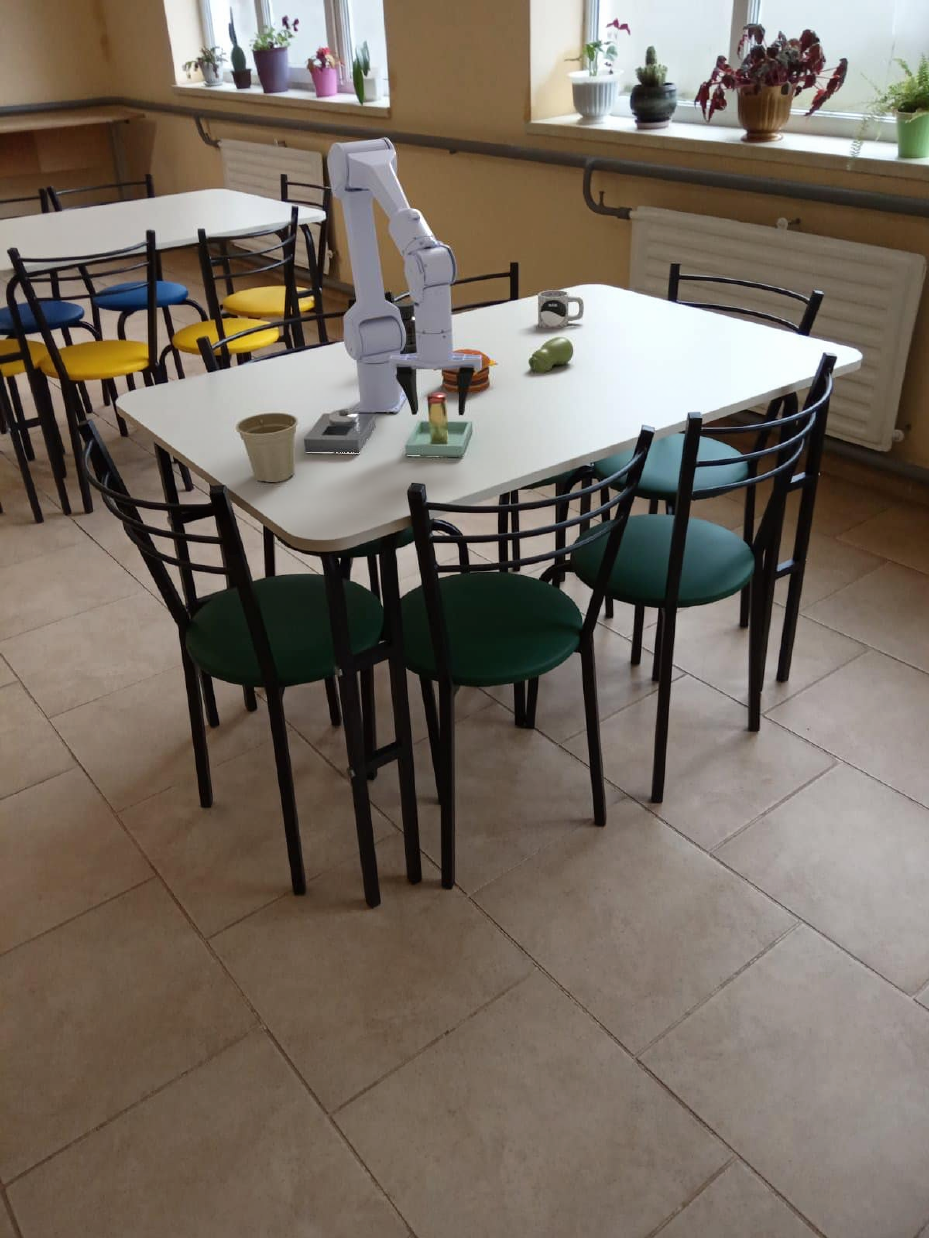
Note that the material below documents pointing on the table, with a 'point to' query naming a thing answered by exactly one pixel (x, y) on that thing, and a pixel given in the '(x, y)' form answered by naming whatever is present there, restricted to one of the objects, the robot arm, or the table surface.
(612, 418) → the table surface
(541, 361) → the pear
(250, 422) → the flower pot
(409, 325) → the supplement bottle
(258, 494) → the table surface
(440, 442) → the yellow jar
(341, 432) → the block
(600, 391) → the table surface
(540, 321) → the mug
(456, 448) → the tray
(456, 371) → the hamburger
